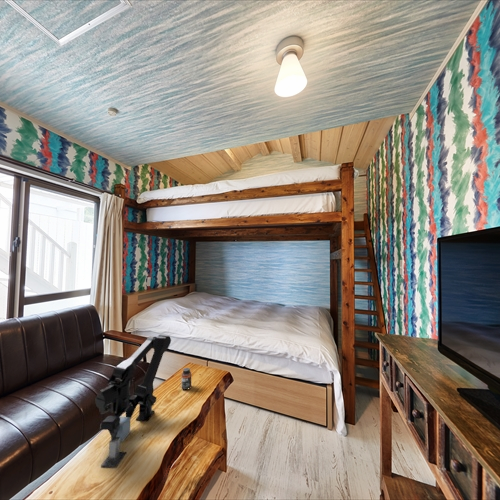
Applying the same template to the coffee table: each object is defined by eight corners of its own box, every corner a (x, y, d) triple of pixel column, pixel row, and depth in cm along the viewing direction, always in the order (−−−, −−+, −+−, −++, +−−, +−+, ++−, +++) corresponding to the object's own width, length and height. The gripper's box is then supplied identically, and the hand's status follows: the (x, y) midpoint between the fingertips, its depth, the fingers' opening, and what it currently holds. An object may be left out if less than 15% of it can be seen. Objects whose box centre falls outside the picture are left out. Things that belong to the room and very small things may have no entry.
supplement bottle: (187, 384, 135) (187, 365, 136) (193, 387, 131) (193, 368, 132) (179, 388, 130) (179, 369, 131) (184, 391, 126) (185, 372, 127)
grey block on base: (119, 431, 96) (119, 416, 97) (129, 432, 96) (130, 417, 97) (110, 441, 91) (111, 425, 92) (122, 441, 91) (123, 425, 91)
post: (112, 452, 86) (112, 433, 86) (126, 453, 85) (127, 433, 86) (100, 466, 80) (101, 445, 80) (116, 467, 79) (116, 446, 80)
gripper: (119, 382, 105) (118, 415, 104) (88, 407, 86) (86, 448, 85) (140, 382, 104) (139, 415, 103) (114, 408, 86) (112, 449, 85)
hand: (121, 430), depth 94 cm, fingers open, 9 cm apart
